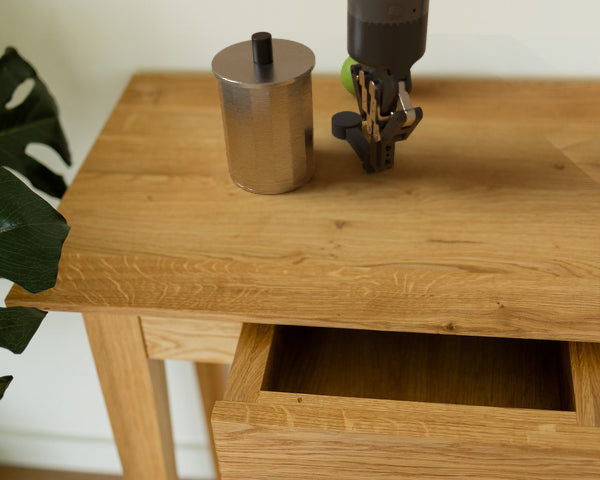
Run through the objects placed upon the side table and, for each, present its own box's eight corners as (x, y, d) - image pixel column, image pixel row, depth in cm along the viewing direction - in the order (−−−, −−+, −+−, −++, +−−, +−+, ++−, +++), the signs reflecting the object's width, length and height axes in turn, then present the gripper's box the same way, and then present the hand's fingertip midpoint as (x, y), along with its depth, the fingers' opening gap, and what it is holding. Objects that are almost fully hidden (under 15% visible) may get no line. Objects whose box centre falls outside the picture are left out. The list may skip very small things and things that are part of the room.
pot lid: (296, 41, 81) (294, 7, 79) (330, 82, 74) (330, 46, 71) (201, 59, 79) (197, 25, 77) (227, 103, 72) (223, 67, 69)
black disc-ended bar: (355, 122, 91) (355, 103, 90) (391, 168, 84) (392, 149, 82) (327, 127, 91) (327, 109, 89) (360, 175, 83) (361, 156, 81)
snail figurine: (356, 111, 93) (357, 14, 85) (333, 90, 98) (332, -4, 90) (395, 101, 95) (399, 5, 87) (371, 80, 99) (373, -13, 91)
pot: (298, 141, 89) (293, 38, 80) (326, 183, 82) (324, 75, 74) (220, 158, 87) (206, 54, 78) (243, 202, 80) (230, 94, 72)
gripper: (458, 23, 66) (441, 191, 78) (395, -24, 76) (388, 132, 87) (379, 37, 64) (373, 207, 76) (324, -13, 74) (326, 144, 85)
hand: (381, 166), depth 81 cm, fingers closed
